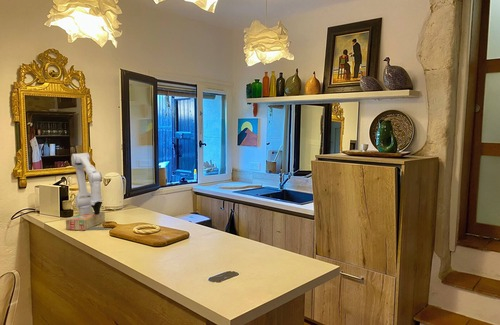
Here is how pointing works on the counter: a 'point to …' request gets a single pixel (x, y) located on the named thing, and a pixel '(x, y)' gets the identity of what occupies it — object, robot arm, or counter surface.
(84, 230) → the strip
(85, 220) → the patterned cardboard box
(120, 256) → the counter surface
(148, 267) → the counter surface
